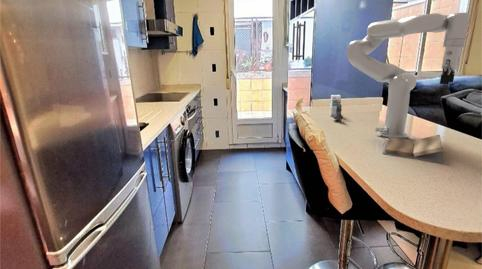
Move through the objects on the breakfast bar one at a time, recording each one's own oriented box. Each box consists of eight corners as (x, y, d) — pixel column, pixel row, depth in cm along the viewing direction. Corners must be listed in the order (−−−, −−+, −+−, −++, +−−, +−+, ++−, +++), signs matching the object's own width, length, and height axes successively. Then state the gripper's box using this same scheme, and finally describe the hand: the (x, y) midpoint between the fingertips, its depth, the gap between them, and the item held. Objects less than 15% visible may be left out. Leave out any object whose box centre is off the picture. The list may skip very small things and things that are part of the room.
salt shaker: (335, 119, 183) (336, 101, 180) (344, 121, 180) (345, 102, 176) (331, 121, 179) (333, 103, 175) (340, 122, 175) (342, 103, 172)
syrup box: (330, 116, 192) (332, 95, 188) (329, 114, 198) (330, 94, 194) (339, 116, 191) (341, 95, 187) (337, 115, 197) (339, 94, 193)
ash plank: (414, 156, 116) (413, 153, 116) (415, 143, 132) (414, 140, 132) (443, 150, 110) (441, 146, 110) (440, 137, 127) (439, 134, 127)
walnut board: (385, 152, 122) (385, 149, 121) (389, 140, 138) (390, 137, 138) (411, 156, 117) (412, 153, 116) (413, 143, 133) (413, 140, 133)
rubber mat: (382, 153, 122) (382, 153, 121) (387, 140, 139) (387, 139, 139) (444, 163, 110) (444, 162, 110) (441, 147, 128) (441, 146, 128)
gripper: (460, 43, 114) (452, 85, 119) (467, 43, 126) (460, 82, 130) (438, 43, 119) (431, 84, 124) (447, 44, 131) (441, 81, 136)
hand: (446, 83), depth 127 cm, fingers open, 9 cm apart
